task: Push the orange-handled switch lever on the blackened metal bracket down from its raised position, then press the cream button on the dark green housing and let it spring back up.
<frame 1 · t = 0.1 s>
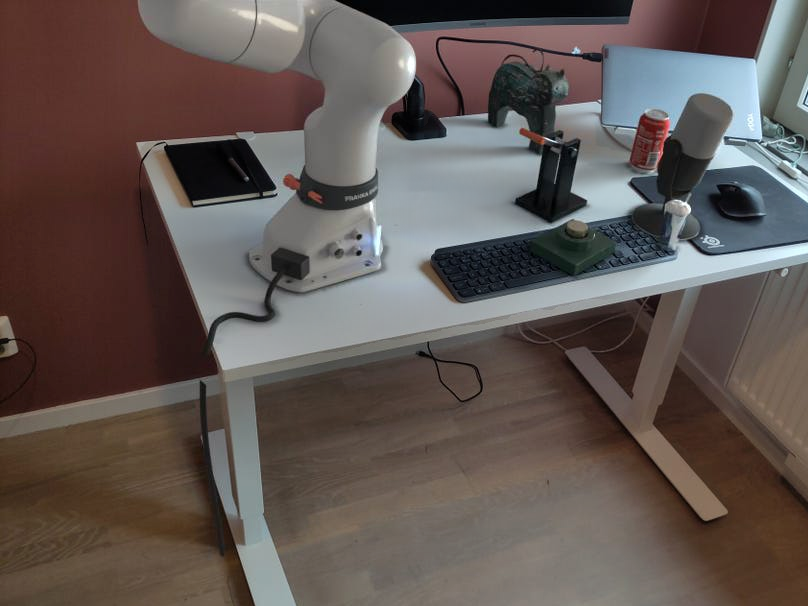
button: (576, 229, 144), point 4 cm above the table, slide at 0.1 cm
beverage can: (642, 168, 175), on the table
milkshake: (667, 247, 152), on the table
button housing: (572, 251, 146), on the table
switch lever: (548, 142, 147), point 14 cm above the table, hinge at 26.0°
microphone: (665, 223, 158), on the table
switch bracket: (550, 204, 159), on the table
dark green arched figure: (517, 139, 180), on the table
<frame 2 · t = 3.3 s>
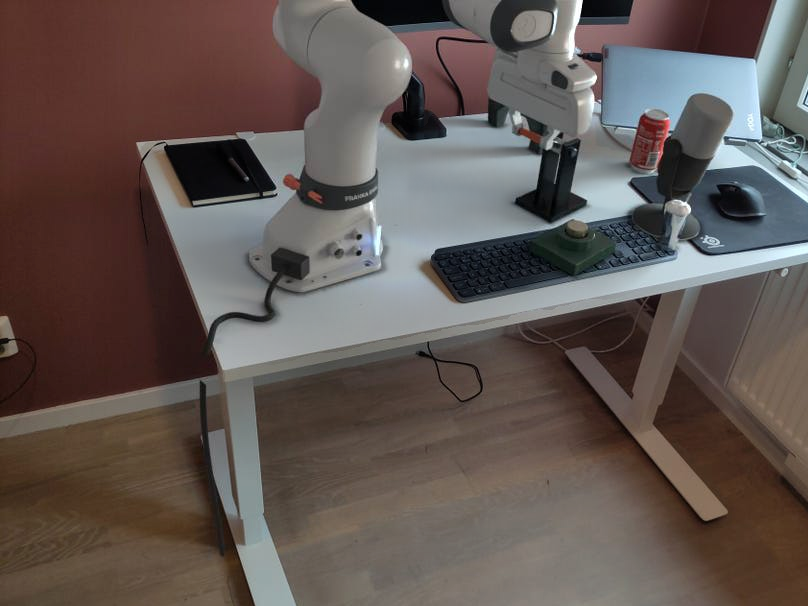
hand: (531, 141, 143), 16 cm above the table, tool pointing down, fingers closed on switch lever, 5 cm apart
switch lever: (548, 142, 147), point 14 cm above the table, hinge at 26.0°, touching gripper
everything else where it was.
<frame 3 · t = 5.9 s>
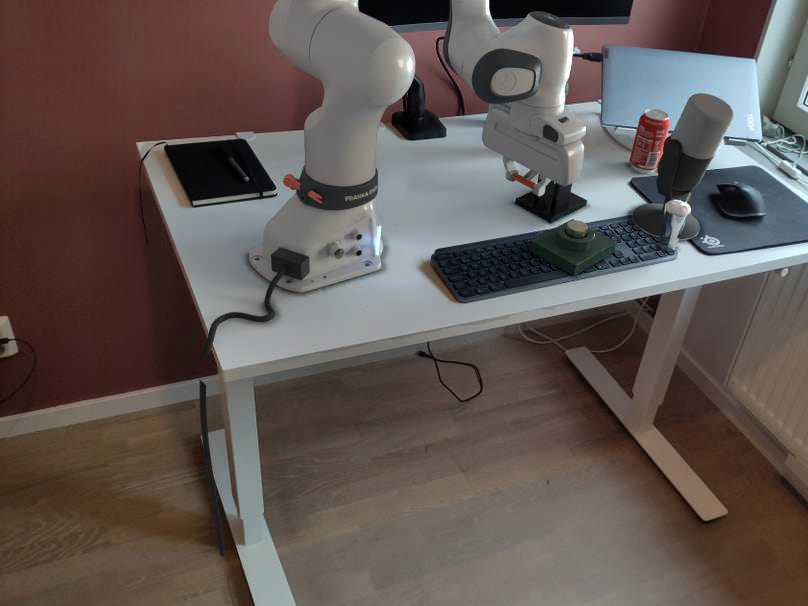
hand: (524, 186, 149), 7 cm above the table, tool pointing down, fingers closed on switch lever, 5 cm apart
switch lever: (544, 162, 149), point 10 cm above the table, hinge at -21.5°, touching gripper
everything else where it was.
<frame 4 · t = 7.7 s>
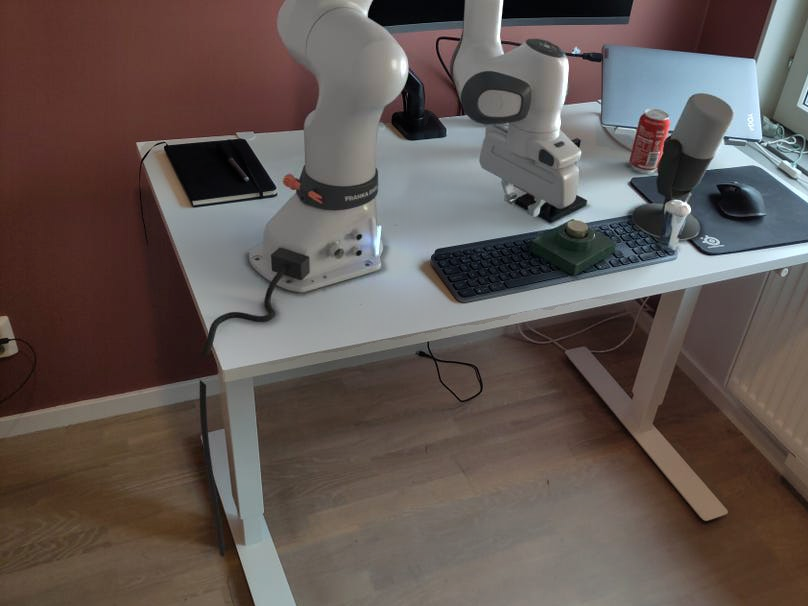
hand: (521, 208, 151), 2 cm above the table, tool pointing down, fingers open, 4 cm apart
switch lever: (545, 166, 150), point 9 cm above the table, hinge at -32.8°
everything else where it was.
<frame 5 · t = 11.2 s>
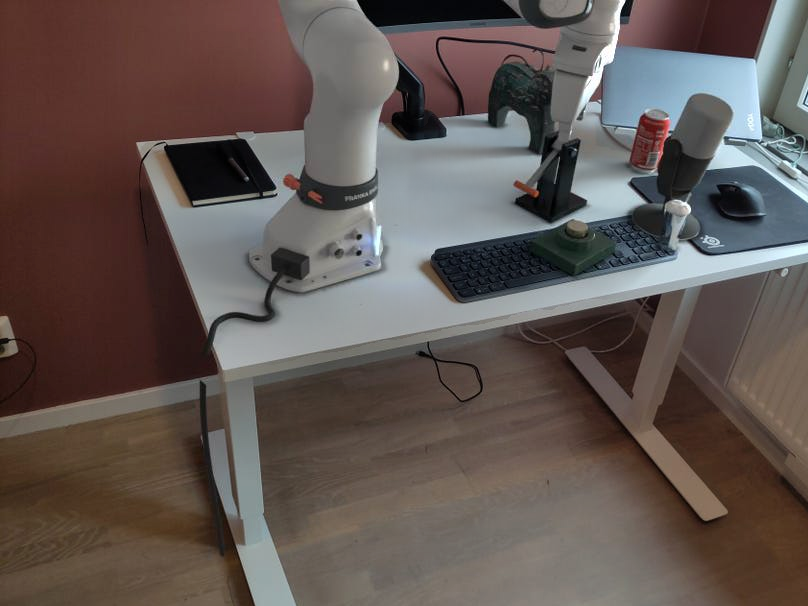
hand: (571, 129, 136), 21 cm above the table, tool pointing down, fingers open, 8 cm apart
nothing on the table moved.
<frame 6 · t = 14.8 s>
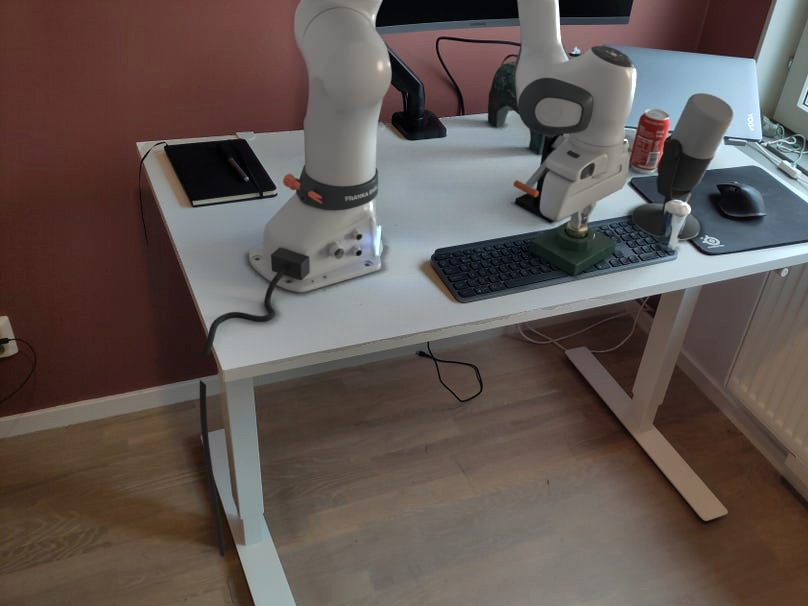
hand: (578, 225, 143), 5 cm above the table, tool pointing down, fingers closed, pressing on button
button: (576, 229, 144), point 4 cm above the table, slide at 0.1 cm, touching gripper
everything else where it was.
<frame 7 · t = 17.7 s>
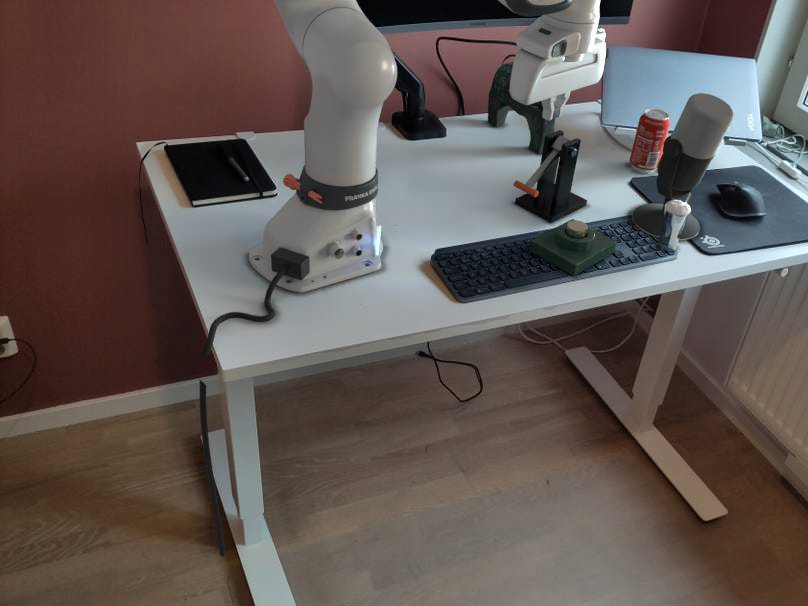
hand: (551, 117, 138), 21 cm above the table, tool pointing down, fingers closed
button: (576, 229, 144), point 4 cm above the table, slide at 0.1 cm
everything else where it was.
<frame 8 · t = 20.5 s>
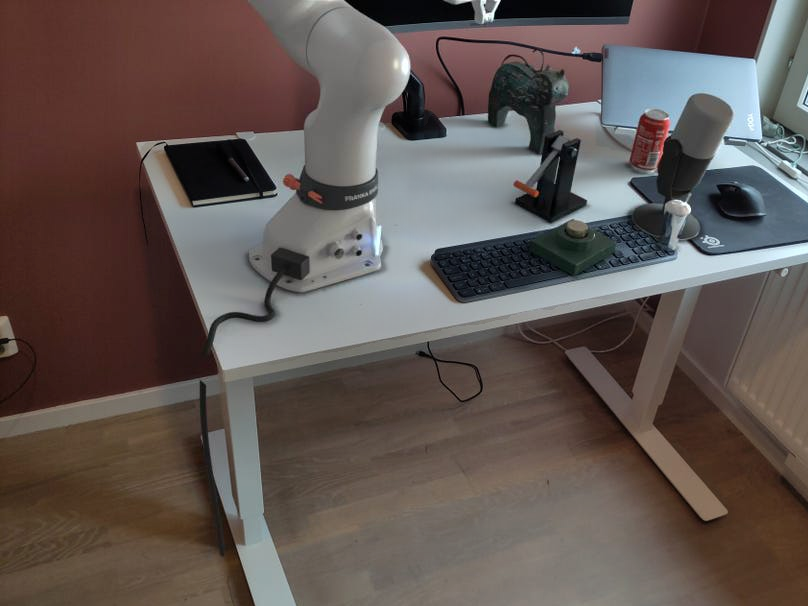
hand: (483, 22, 141), 31 cm above the table, tool pointing down, fingers closed
nothing on the table moved.
at the end: switch lever at -33° (first picture: +26°); button pushed in 0.9 cm at the most during the clip, back to where it started at the end; button slide at 0.1 cm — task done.
